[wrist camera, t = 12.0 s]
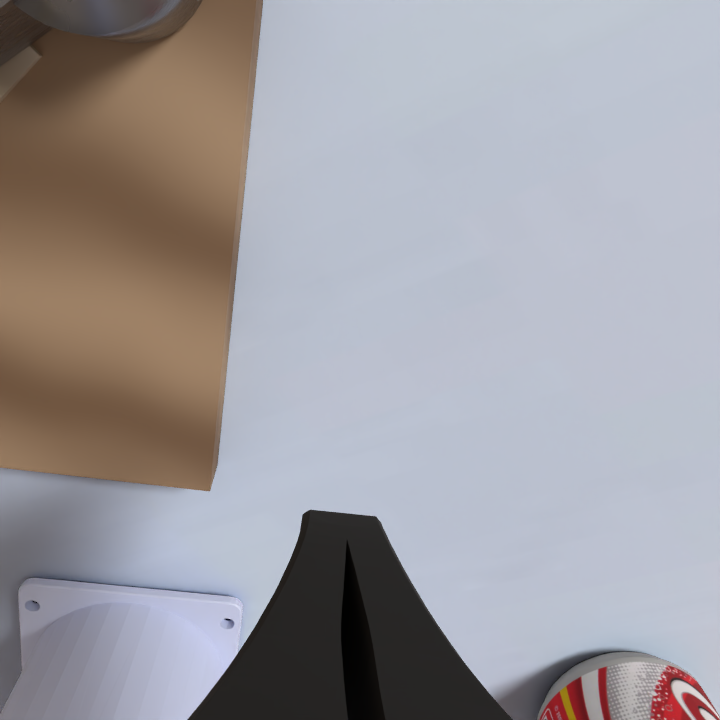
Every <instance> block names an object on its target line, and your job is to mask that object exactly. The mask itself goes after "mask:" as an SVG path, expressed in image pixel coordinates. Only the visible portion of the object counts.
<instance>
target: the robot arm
mask: <svg viewBox="0 0 720 720" xmlns="http://www.w3.org/2000/svg"><path fill="white" fill-rule="evenodd" d="M31 600H32V601H36V602H37V603H34V602H32V601H31ZM18 604H19V624H20V644H21V663H22V672H21V674H20V676H19V678H18V680H17V682H16V684H15V686H14V688H13V690H12V692H11V694H10V696H9V698H8V699H7V701H6V703H5V705H4V707H3V709H2V711H1V713H0V720H512V719H511V718H510V716H509V715H508V714H507V713H506V712H505V711H504V710H503V709H502V708H501V707H500V705H499V704H498V703H497V702H496V701H495V700H494V698H493V697H492V696H491V695H490V694H489V693H488V692H487V690H486V689H485V688H484V687H483V685H482V684H481V683H480V682H479V680H478V679H477V678H476V677H475V675H474V674H473V673H472V672H471V670H470V669H469V668H468V667H467V665H466V664H465V663H464V661H463V660H462V659H461V657H460V656H459V655H458V653H457V652H456V650H455V649H454V648H453V646H452V645H451V643H450V642H449V641H448V639H447V638H446V636H445V635H444V633H443V632H442V630H441V629H440V627H439V626H438V625H437V623H436V622H435V620H434V618H433V617H432V615H431V614H430V612H429V611H428V609H427V608H426V606H425V604H424V603H423V601H422V599H421V598H420V596H419V594H418V593H417V591H416V589H415V588H414V586H413V584H412V583H411V581H410V579H409V577H408V576H407V574H406V572H405V570H404V568H403V567H402V565H401V563H400V561H399V559H398V557H397V555H396V553H395V551H394V550H393V548H392V546H391V544H390V542H389V539H388V537H387V535H386V533H385V531H384V529H383V527H382V524H381V522H380V521H379V520H378V519H377V517H375V516H365V515H356V514H346V513H336V512H326V511H317V510H309V511H307V512H306V513H304V514H303V516H302V523H301V529H300V534H299V537H298V541H297V544H296V546H295V549H294V551H293V554H292V557H291V559H290V561H289V563H288V566H287V568H286V570H285V572H284V574H283V576H282V578H281V581H280V583H279V585H278V587H277V589H276V591H275V593H274V595H273V596H272V598H271V600H270V602H269V603H268V605H267V607H266V609H265V610H264V612H263V614H262V616H261V617H260V619H259V621H258V623H257V624H256V626H255V628H254V629H253V631H252V632H251V634H250V636H249V637H248V639H247V640H246V642H245V643H244V645H243V646H242V648H241V649H240V651H239V652H238V644H239V637H240V629H241V621H242V614H243V604H242V602H241V601H240V600H239V599H237V598H235V597H231V596H221V595H211V594H200V593H190V592H179V591H169V590H158V589H148V588H137V587H127V586H116V585H106V584H96V583H85V582H75V581H64V580H54V579H43V578H29V579H27V580H25V581H24V582H23V583H22V585H21V586H20V588H19V591H18ZM227 618H228V619H232V621H227V620H224V619H227ZM237 652H238V654H237Z"/></svg>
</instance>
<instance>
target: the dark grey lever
mask: <svg viewBox="0 0 720 720" xmlns="http://www.w3.org/2000/svg"><path fill="white" fill-rule="evenodd" d="M201 2H202V0H0V66H2V65H3V64H5V63H6V62H7V61H9V60H10V59H12V58H13V57H14V56H16V55H17V54H18V53H20V52H21V51H23V50H24V49H25V48H27V47H28V46H30V45H31V44H32V43H34V42H35V41H37V40H38V39H39V38H41V37H42V36H44V35H45V34H46V33H48V32H49V31H50V30H52V29H53V28H56V29H59V30H62V31H65V32H70V33H75V34H80V35H85V36H91V37H96V38H101V39H106V40H112V41H117V42H122V43H134V44H136V43H147V42H152V41H156V40H159V39H162V38H164V37H167V36H169V35H170V34H172V33H174V32H175V31H177V30H178V29H180V28H181V27H182V26H183V25H184V24H186V23H187V22H188V20H189V19H190V18H191V17H192V16H193V15H194V13H195V12H196V11H197V9H198V8H199V6H200V4H201Z"/></svg>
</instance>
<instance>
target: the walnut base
mask: <svg viewBox="0 0 720 720" xmlns="http://www.w3.org/2000/svg"><path fill="white" fill-rule="evenodd" d="M262 6H263V0H202V2H201V4H200V6H199V8H198V9H197V11H196V12H195V13H194V15H193V16H192V17H191V18H190V19H189V20H188V22H187V23H186V24H184V25H183V26H182V27H181V28H180V29H178V30H177V31H175V32H174V33H172V34H170V35H169V36H167V37H164V38H162V39H159V40H156V41H152V42H147V43H136V44H134V43H122V42H117V41H112V40H106V39H101V38H96V37H91V36H85V35H80V34H75V33H70V32H65V31H62V30H59V29H56V28H53V29H52V30H50V31H49V32H48V33H46V34H45V35H44V36H42V37H41V38H39V39H38V40H37V41H35V42H34V43H32V44H31V45H30V46H28V47H27V48H25V49H24V50H23V51H21V52H20V53H18V54H17V55H16V56H14V57H13V58H12V59H10V60H9V61H7V62H6V63H5V64H3V65H2V66H0V468H9V469H18V470H27V471H36V472H44V473H53V474H62V475H71V476H80V477H89V478H97V479H106V480H115V481H124V482H133V483H141V484H150V485H159V486H168V487H177V488H186V489H194V490H203V491H210V489H211V486H212V482H213V479H214V475H215V472H216V468H217V463H218V453H219V443H220V433H221V423H222V412H223V402H224V392H225V382H226V372H227V362H228V351H229V341H230V331H231V321H232V311H233V301H234V290H235V280H236V270H237V260H238V250H239V240H240V229H241V219H242V209H243V199H244V189H245V179H246V168H247V158H248V148H249V138H250V128H251V118H252V107H253V97H254V87H255V77H256V67H257V57H258V46H259V36H260V26H261V16H262Z"/></svg>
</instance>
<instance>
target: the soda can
mask: <svg viewBox="0 0 720 720" xmlns="http://www.w3.org/2000/svg"><path fill="white" fill-rule="evenodd" d="M537 720H720V716H719V715H718V713H717V712H716V710H715V708H714V707H713V705H712V704H711V702H710V700H709V699H708V697H707V696H706V694H705V692H704V691H703V689H702V688H701V686H700V685H699V684H698V682H697V681H696V680H695V678H694V677H693V676H692V675H691V674H689V673H688V672H687V671H685V670H684V669H682V668H681V667H679V666H677V665H675V664H673V663H671V662H668V661H666V660H663V659H660V658H658V657H655V656H652V655H649V654H644V653H637V652H614V653H608V654H603V655H599V656H596V657H593V658H590V659H588V660H585V661H583V662H581V663H579V664H577V665H576V666H574V667H572V668H571V669H570V670H568V671H567V672H566V673H564V674H563V675H562V676H561V677H560V678H559V679H558V680H557V681H556V682H555V683H554V684H553V686H552V687H551V689H550V690H549V692H548V694H547V696H546V698H545V700H544V702H543V704H542V706H541V709H540V711H539V714H538V717H537Z"/></svg>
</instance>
